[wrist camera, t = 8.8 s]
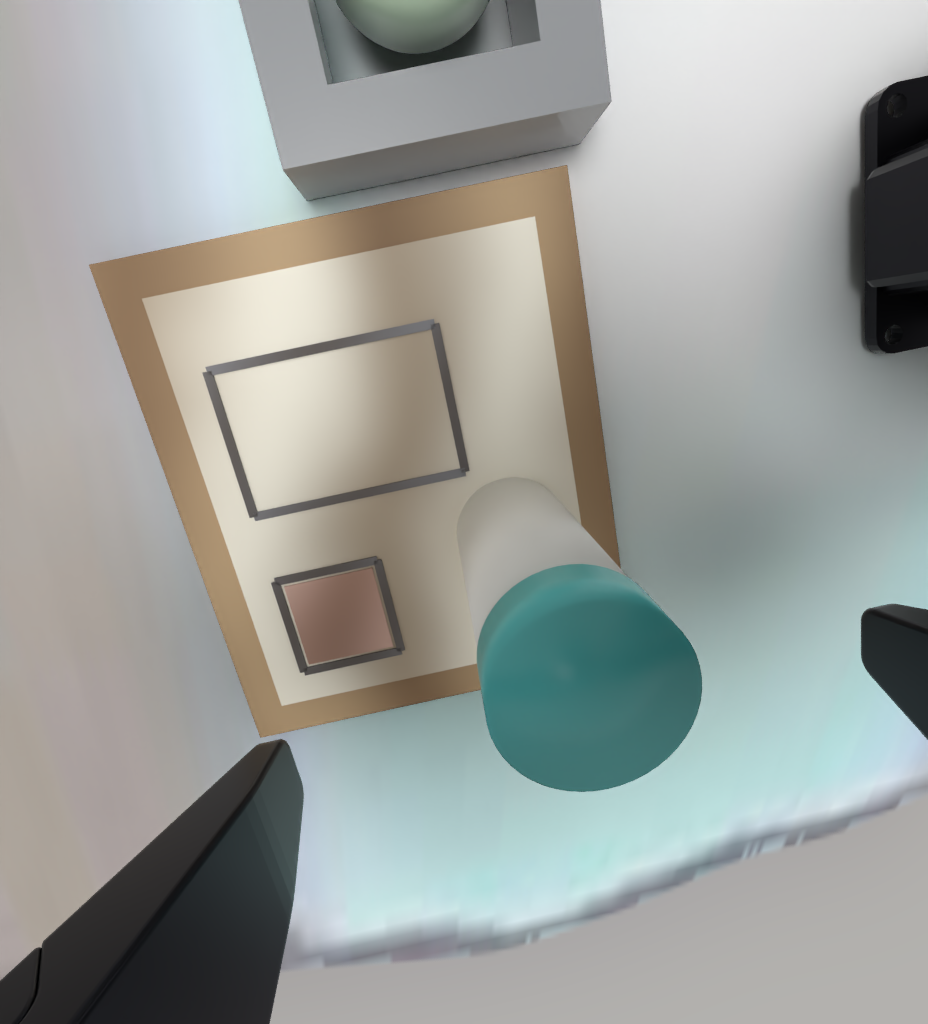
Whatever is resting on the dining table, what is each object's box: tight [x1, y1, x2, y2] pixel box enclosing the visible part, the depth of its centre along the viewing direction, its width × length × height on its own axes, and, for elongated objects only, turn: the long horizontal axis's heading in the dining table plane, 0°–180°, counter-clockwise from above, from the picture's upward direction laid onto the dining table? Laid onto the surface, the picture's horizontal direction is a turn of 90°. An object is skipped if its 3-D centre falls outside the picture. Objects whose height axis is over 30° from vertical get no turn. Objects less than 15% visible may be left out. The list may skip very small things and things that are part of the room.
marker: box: [457, 478, 702, 792], centre depth 12 cm, size 3×3×8 cm
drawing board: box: [89, 165, 621, 738], centre depth 16 cm, size 12×14×1 cm
